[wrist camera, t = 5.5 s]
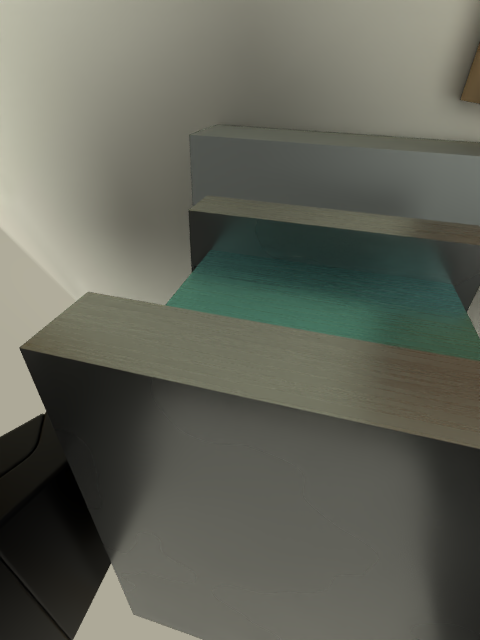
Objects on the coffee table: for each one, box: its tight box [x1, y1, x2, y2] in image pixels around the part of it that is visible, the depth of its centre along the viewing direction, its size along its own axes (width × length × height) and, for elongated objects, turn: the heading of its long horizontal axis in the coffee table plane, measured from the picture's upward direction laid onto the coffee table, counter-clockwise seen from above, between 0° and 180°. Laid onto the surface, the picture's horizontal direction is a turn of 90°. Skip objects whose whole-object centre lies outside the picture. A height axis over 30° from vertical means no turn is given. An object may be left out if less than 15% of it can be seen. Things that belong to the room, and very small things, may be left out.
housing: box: [20, 195, 480, 640], centre depth 7 cm, size 5×7×5 cm
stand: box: [189, 125, 480, 226], centre depth 12 cm, size 8×8×2 cm
